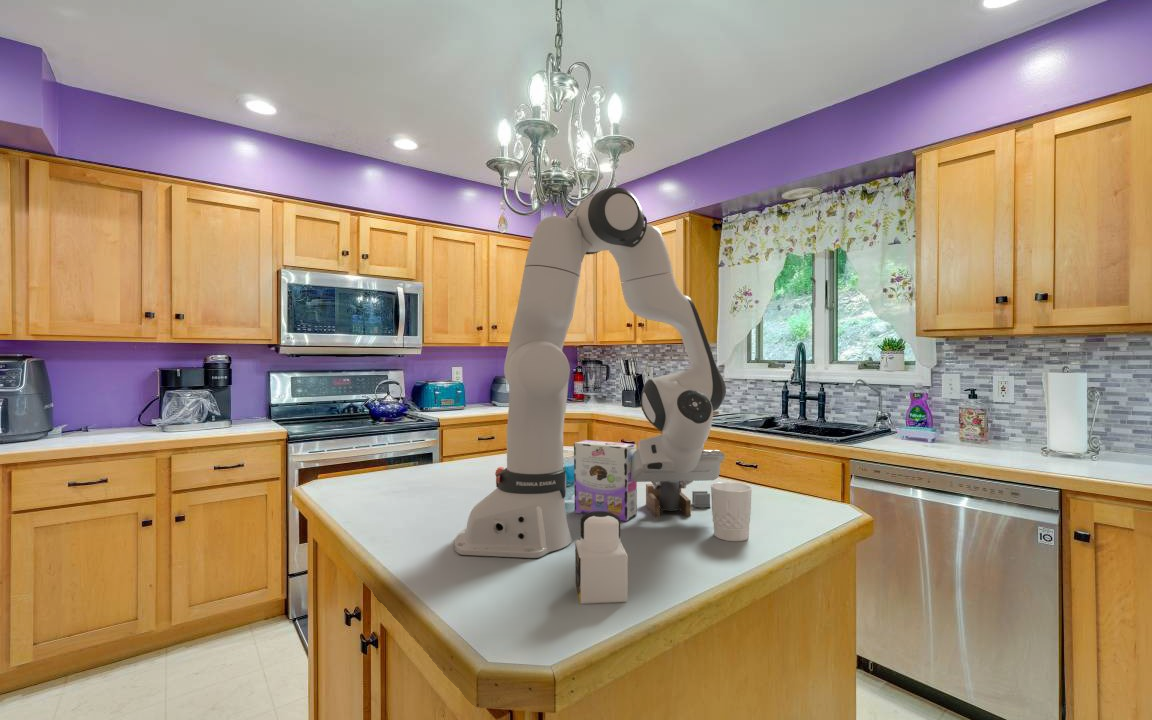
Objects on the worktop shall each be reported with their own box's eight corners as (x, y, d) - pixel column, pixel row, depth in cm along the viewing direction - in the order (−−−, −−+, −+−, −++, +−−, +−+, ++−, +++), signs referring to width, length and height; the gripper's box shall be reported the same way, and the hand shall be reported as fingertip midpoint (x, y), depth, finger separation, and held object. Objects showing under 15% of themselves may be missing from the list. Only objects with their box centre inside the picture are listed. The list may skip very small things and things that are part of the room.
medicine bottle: (575, 584, 85) (575, 508, 85) (619, 582, 85) (619, 507, 85) (579, 604, 78) (579, 522, 77) (627, 602, 78) (627, 521, 78)
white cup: (754, 544, 103) (754, 492, 103) (711, 541, 104) (711, 490, 104) (749, 531, 111) (749, 482, 110) (710, 528, 112) (710, 481, 112)
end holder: (655, 516, 121) (654, 494, 120) (645, 504, 130) (645, 484, 130) (690, 516, 121) (690, 493, 121) (678, 504, 131) (678, 483, 131)
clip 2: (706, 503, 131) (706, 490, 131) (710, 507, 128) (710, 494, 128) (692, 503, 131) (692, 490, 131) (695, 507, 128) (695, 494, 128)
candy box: (638, 515, 121) (638, 443, 121) (626, 522, 117) (626, 447, 116) (586, 506, 129) (586, 438, 129) (573, 512, 124) (573, 441, 124)
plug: (662, 510, 122) (661, 469, 122) (657, 505, 126) (657, 465, 126) (681, 510, 122) (681, 469, 122) (676, 504, 127) (676, 465, 127)
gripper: (723, 439, 118) (709, 473, 128) (631, 440, 116) (624, 475, 126) (730, 463, 114) (715, 497, 123) (635, 464, 112) (627, 499, 122)
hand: (668, 486), depth 125 cm, fingers closed on plug, 5 cm apart
